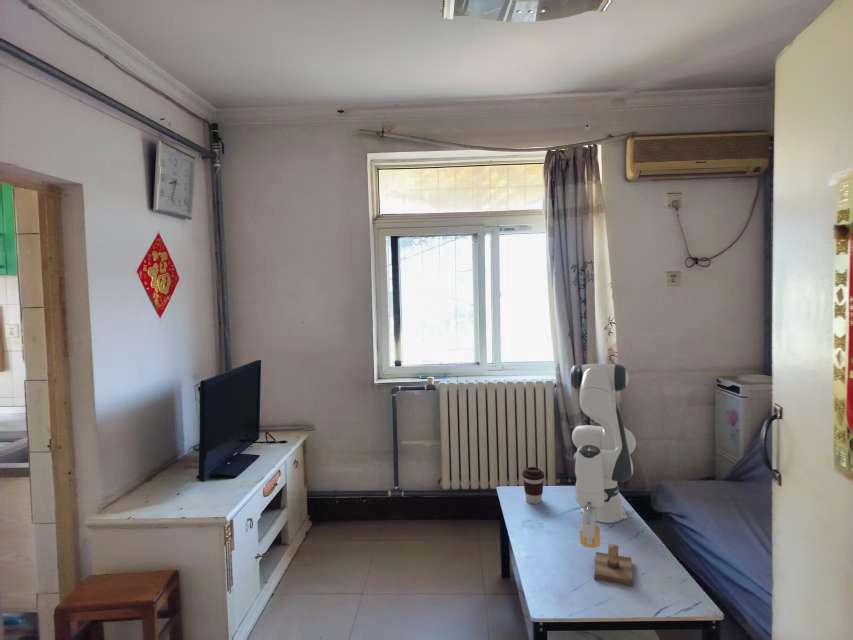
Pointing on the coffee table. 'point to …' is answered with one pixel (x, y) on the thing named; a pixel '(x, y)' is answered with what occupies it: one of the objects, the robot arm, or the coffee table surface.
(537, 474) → the coffee cup
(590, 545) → the domed octagonal prism
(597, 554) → the wooden peg stand
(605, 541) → the coffee table surface
